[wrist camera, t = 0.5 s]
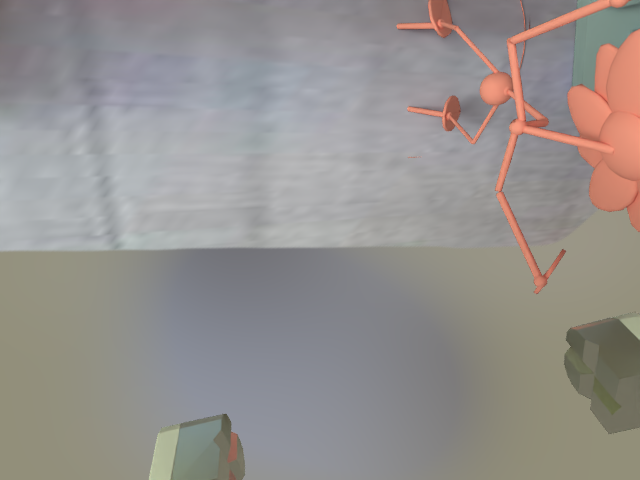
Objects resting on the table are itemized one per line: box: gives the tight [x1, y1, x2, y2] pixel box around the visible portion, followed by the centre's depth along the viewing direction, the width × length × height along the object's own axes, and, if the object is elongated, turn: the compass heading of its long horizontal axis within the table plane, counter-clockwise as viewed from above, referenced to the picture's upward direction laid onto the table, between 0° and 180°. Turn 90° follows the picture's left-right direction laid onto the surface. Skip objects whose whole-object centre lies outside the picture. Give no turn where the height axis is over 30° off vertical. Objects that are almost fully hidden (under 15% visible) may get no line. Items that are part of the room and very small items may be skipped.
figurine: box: [397, 0, 640, 294], centre depth 38 cm, size 15×26×35 cm, turn 13°
